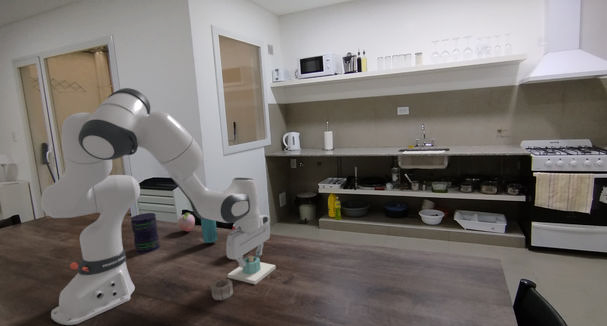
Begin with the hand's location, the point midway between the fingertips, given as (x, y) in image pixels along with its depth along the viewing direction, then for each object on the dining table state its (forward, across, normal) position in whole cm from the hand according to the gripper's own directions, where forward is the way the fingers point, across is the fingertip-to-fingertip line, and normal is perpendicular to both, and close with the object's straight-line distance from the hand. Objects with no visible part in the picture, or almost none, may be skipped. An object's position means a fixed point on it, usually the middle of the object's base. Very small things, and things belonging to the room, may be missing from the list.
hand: (251, 260), depth 113 cm
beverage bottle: (+5, +15, +35) cm, 38 cm away
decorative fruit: (+5, +22, +58) cm, 62 cm away
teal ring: (+3, 0, 0) cm, 3 cm away
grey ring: (+5, -15, 0) cm, 16 cm away
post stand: (+5, 0, 0) cm, 5 cm away
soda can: (+5, +13, +15) cm, 20 cm away
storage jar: (+5, 0, +58) cm, 58 cm away
